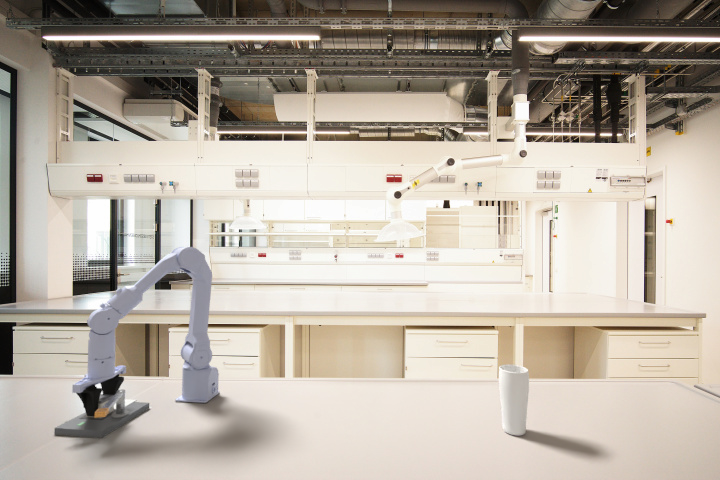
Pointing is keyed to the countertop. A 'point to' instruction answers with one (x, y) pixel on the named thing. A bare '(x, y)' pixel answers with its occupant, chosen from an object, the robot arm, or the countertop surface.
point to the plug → (103, 402)
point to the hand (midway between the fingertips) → (100, 411)
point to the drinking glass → (514, 398)
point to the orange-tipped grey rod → (120, 404)
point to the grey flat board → (101, 421)
